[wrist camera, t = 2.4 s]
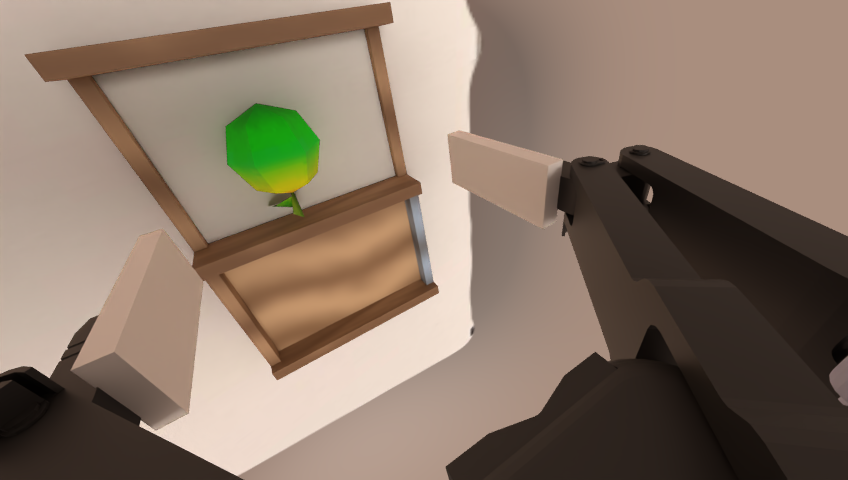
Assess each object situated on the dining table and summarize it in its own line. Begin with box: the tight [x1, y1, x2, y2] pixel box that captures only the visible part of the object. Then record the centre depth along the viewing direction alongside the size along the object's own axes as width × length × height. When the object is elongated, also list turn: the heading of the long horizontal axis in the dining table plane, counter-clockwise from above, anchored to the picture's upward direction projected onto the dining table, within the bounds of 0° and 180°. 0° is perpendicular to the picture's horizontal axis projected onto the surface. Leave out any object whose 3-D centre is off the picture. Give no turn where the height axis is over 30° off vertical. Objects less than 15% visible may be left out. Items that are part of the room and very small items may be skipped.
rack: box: [25, 2, 439, 380], centre depth 28 cm, size 29×20×4 cm
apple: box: [226, 103, 320, 217], centre depth 23 cm, size 7×6×9 cm
